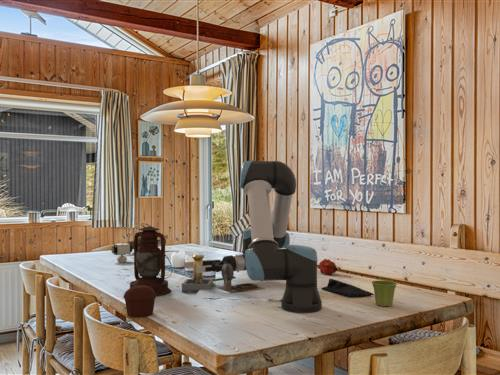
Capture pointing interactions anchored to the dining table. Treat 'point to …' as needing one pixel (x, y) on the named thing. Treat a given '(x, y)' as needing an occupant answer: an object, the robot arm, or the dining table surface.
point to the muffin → (140, 301)
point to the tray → (196, 285)
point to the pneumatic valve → (121, 251)
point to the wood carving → (140, 239)
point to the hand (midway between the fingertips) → (190, 267)
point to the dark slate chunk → (345, 289)
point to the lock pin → (197, 262)
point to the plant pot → (384, 292)
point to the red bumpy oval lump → (327, 267)
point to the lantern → (150, 261)
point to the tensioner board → (228, 276)
